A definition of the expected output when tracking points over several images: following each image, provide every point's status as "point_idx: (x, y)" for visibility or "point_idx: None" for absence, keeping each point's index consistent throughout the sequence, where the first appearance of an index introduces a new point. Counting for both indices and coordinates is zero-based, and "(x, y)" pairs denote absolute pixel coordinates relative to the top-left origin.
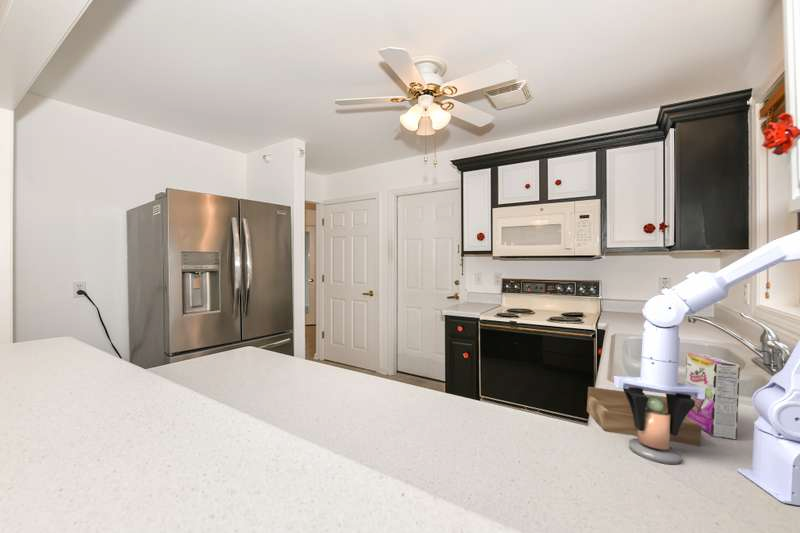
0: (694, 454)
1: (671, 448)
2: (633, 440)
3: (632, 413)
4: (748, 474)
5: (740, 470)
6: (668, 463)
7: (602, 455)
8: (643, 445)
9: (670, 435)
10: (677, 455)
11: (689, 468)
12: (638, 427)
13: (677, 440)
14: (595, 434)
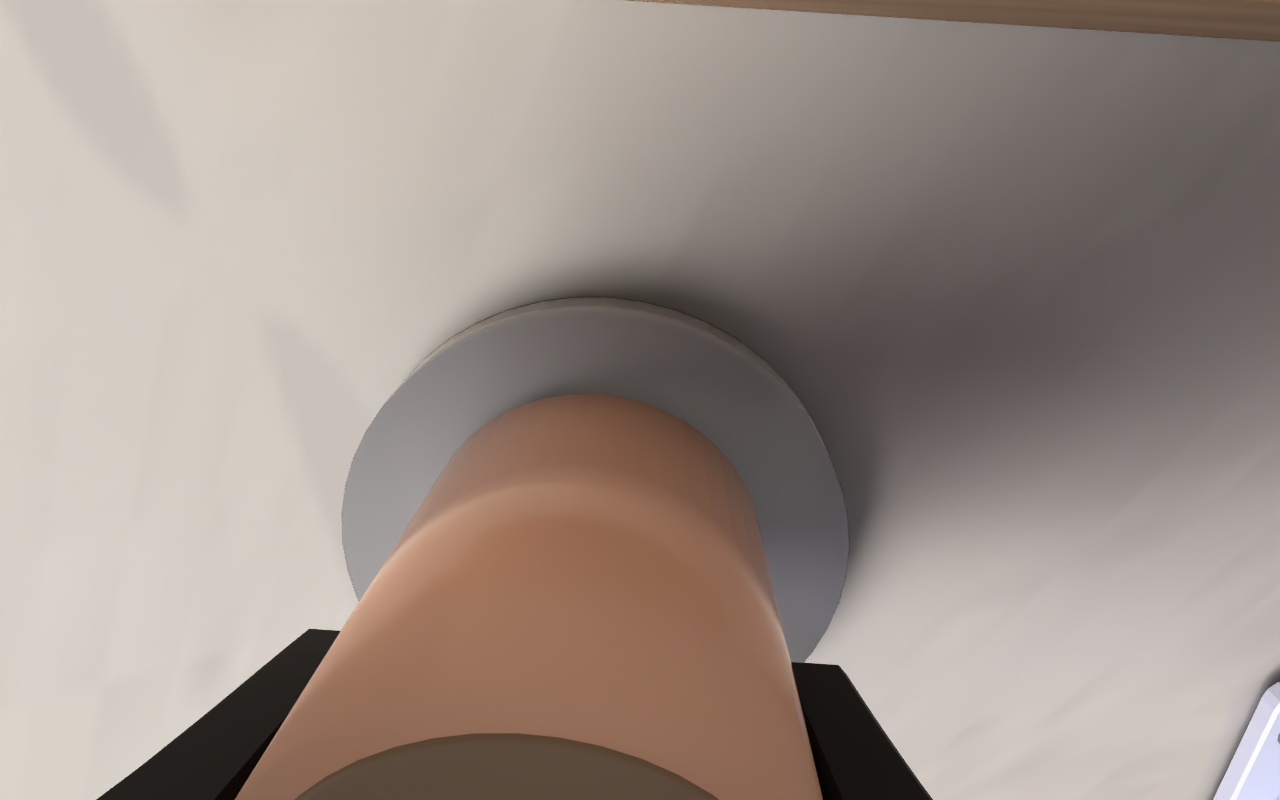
0: (1127, 403)
1: (821, 506)
2: (419, 416)
3: (146, 765)
4: (1268, 782)
5: (1266, 734)
6: None
7: (56, 693)
8: None
9: (1173, 26)
10: None
11: None
12: None
13: (1240, 37)
14: (26, 175)
